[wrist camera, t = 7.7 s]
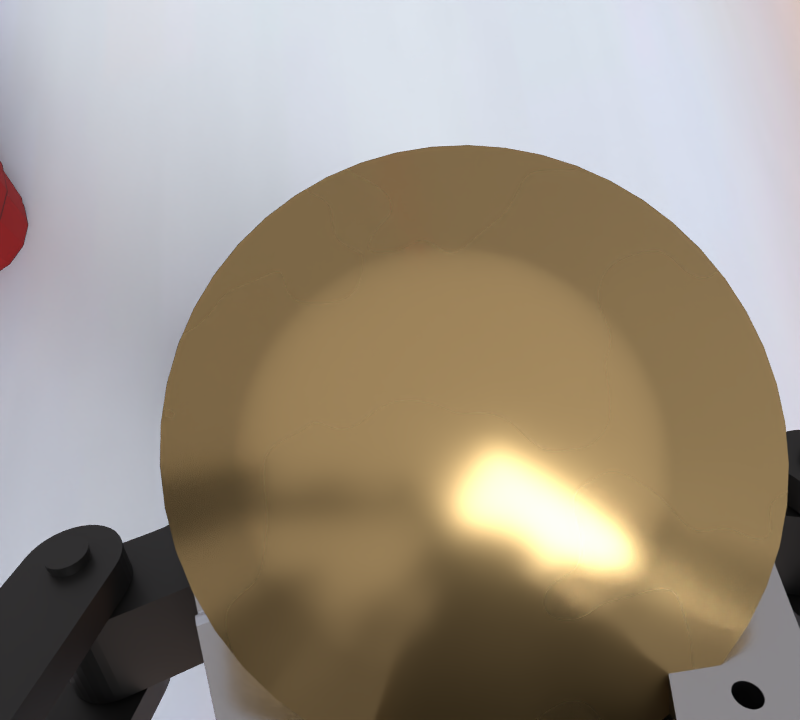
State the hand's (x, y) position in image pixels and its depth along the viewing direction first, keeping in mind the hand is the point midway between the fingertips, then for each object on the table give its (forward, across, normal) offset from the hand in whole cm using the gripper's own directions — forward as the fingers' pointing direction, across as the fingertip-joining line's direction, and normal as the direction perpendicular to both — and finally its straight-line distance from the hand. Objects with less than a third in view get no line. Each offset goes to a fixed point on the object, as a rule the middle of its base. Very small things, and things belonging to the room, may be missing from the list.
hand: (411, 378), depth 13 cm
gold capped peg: (+2, 0, +5) cm, 6 cm away
